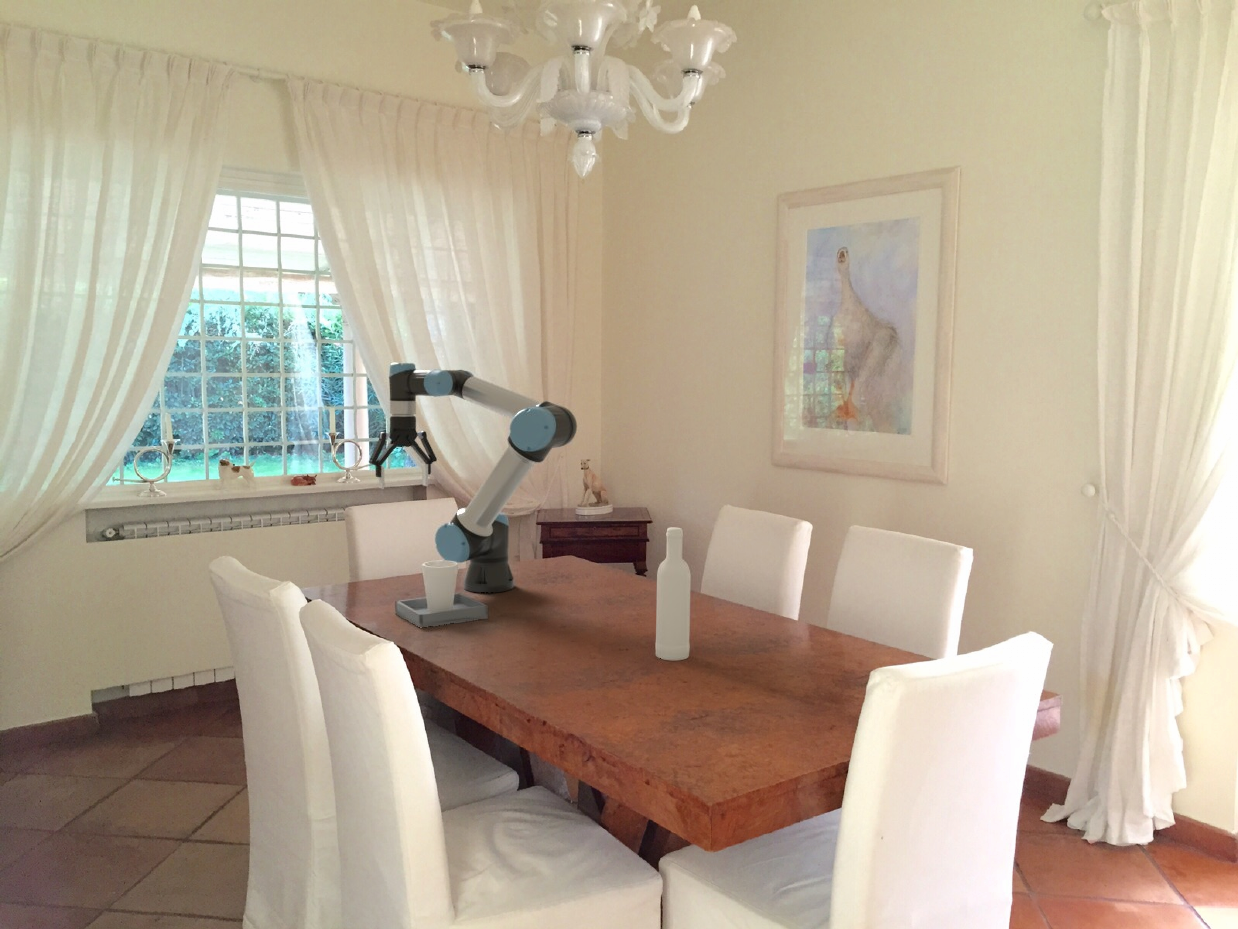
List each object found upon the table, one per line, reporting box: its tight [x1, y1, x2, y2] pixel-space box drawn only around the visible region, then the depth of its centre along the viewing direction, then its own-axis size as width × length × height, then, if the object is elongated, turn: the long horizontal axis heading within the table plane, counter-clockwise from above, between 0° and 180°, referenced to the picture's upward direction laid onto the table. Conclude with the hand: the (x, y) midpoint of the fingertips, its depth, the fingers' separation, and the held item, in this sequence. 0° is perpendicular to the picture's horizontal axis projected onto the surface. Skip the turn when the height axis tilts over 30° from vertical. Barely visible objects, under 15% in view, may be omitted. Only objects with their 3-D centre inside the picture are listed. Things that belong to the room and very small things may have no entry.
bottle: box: [654, 526, 692, 662], centre depth 221 cm, size 8×8×30 cm
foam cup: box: [421, 559, 459, 613], centre depth 255 cm, size 10×9×13 cm
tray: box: [394, 592, 489, 628], centre depth 255 cm, size 19×17×4 cm
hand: (403, 487), depth 284 cm, fingers open, 13 cm apart
